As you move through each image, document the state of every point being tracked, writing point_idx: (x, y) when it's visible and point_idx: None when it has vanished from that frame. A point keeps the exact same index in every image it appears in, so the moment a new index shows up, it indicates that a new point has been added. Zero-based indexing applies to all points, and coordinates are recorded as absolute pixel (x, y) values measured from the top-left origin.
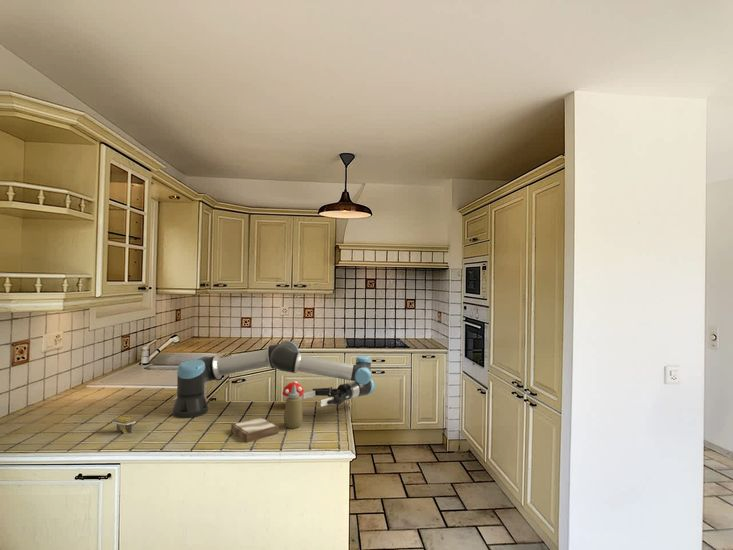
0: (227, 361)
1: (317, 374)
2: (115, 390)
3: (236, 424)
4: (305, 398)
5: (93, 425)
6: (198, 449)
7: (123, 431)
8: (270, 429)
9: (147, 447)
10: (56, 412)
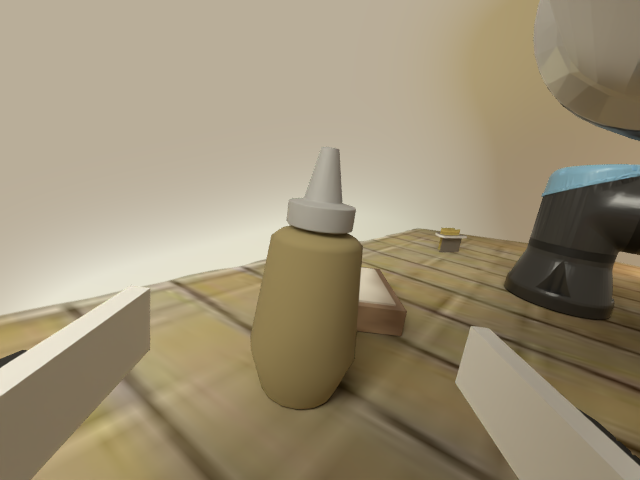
0: None
1: (624, 10)
2: None
3: (368, 268)
4: (466, 399)
5: (484, 250)
6: None
7: (440, 246)
8: None
9: (371, 244)
10: None
